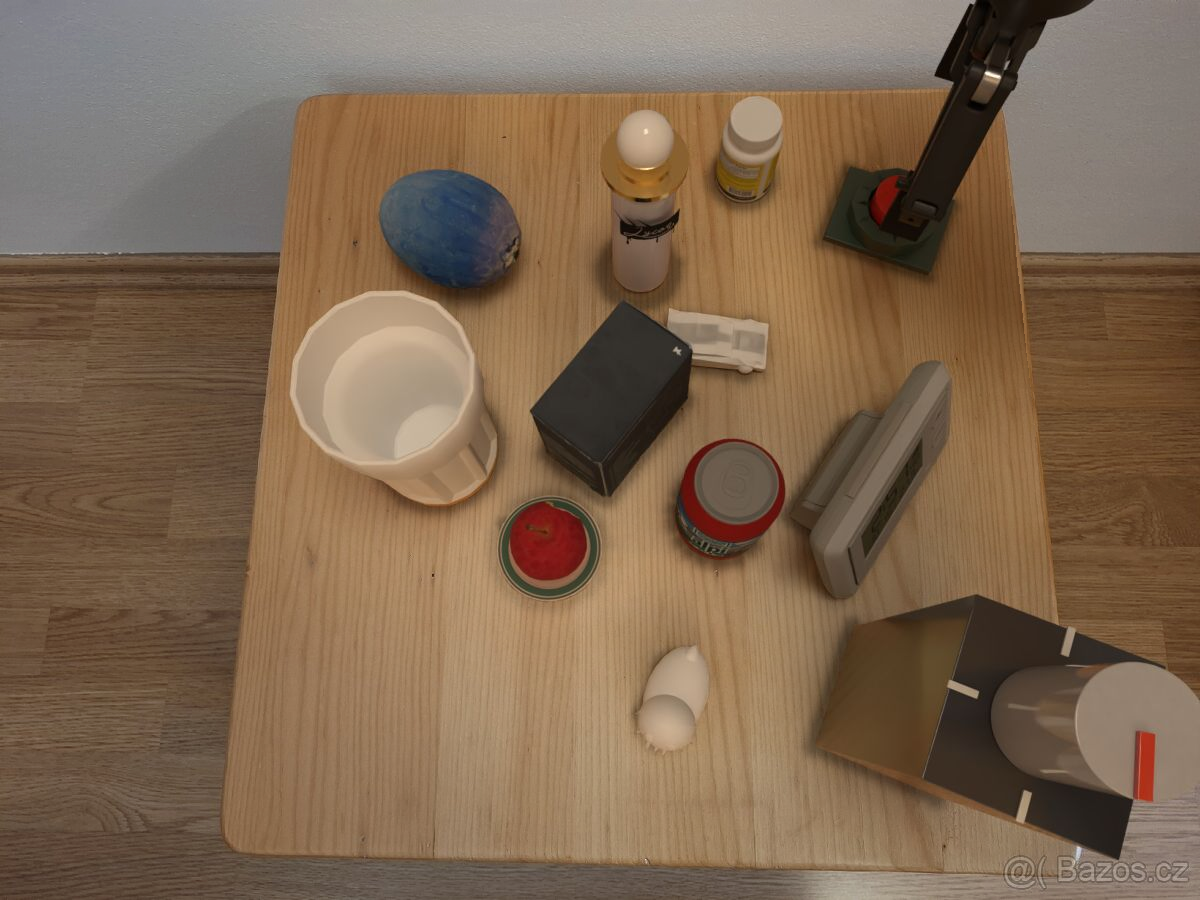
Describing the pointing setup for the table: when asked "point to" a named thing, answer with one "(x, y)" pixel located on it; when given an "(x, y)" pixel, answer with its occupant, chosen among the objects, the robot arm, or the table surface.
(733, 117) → the supplement bottle
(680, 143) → the perfume bottle
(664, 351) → the box
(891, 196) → the button
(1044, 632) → the pillar
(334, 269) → the table surface
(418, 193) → the blue plum
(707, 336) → the toy car
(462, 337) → the cup
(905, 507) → the digital clock
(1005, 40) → the robot arm
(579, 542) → the apple
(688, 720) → the toy creature
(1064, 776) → the hob knob
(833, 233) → the button box
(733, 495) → the beverage can
